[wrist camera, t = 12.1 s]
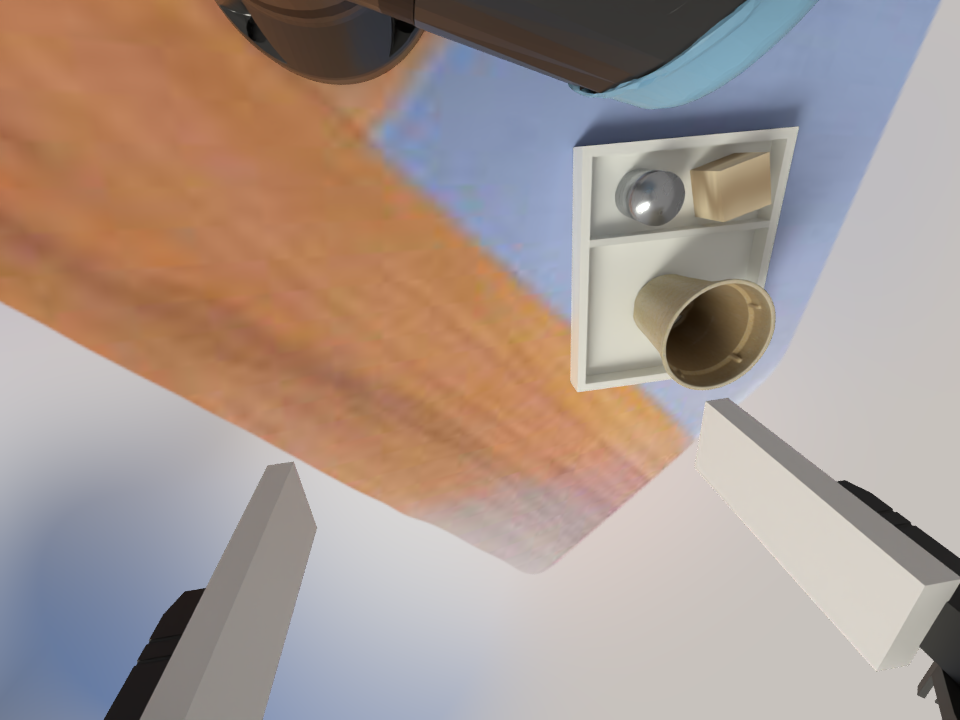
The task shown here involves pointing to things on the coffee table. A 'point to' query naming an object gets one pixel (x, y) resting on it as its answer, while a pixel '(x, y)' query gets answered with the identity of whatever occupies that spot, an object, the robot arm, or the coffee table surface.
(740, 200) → the beech part
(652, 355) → the tray
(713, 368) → the flower pot
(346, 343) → the coffee table surface
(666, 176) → the metal part
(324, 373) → the coffee table surface
